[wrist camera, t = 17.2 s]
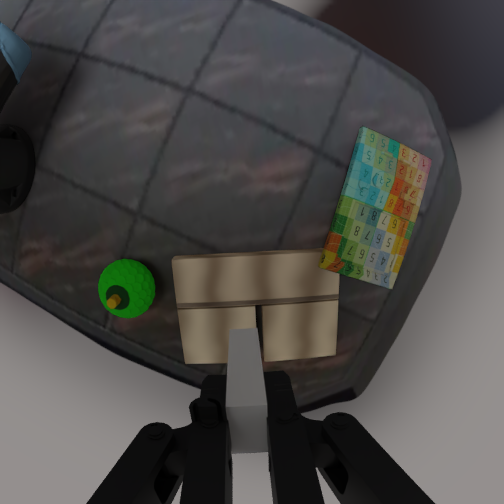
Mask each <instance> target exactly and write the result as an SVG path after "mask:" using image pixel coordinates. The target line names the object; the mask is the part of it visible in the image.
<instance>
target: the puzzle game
mask: <svg viewBox="0 0 504 504" xmlns="http://www.w3.org/2000/svg"><path fill="white" fill-rule="evenodd" d="M430 166H431V159H430V158H428V157H426V156H424V155H423V154H421V153H419V152H417V151H415V150H413V149H411V148H409V147H407V146H405V145H403V144H401V143H399V142H397V141H395V140H393V139H391V138H389V137H387V136H384V135H382V134H380V133H378V132H376V131H374V130H371V129H369V128H367V127H365V126H362V127H360V129H359V133H358V137H357V140H356V144H355V148H354V151H353V155H352V158H351V162H350V165H349V169H348V172H347V176H346V179H345V182H344V186H343V189H342V192H341V196H340V199H339V202H338V205H337V209H336V212H335V215H334V218H333V221H332V224H331V227H330V230H329V233H328V237H327V240H326V243H325V246H324V249H323V252H322V254H321V257H320V260H319V264H318V267H319V268H321V269H325V270H328V271H331V272H335V273H338V274H341V275H345V276H348V277H351V278H355V279H358V280H361V281H365V282H368V283H371V284H375V285H378V286H381V287H385V288H388V289H391V290H392V288H393V285H394V283H395V280H396V277H397V274H398V272H399V269H400V266H401V263H402V260H403V257H404V255H405V252H406V249H407V246H408V243H409V240H410V237H411V234H412V230H413V227H414V224H415V221H416V217H417V214H418V211H419V207H420V204H421V200H422V197H423V193H424V189H425V186H426V182H427V178H428V174H429V170H430Z"/></svg>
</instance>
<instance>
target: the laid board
mask: <svg viewBox="0 0 504 504" xmlns="http://www.w3.org/2000/svg"><path fill="white" fill-rule="evenodd" d="M323 249H324V248H315V249H296V250H277V251H258V252H240V253H221V254H202V255H183V256H174V258H173V259H172V269H173V278H174V287H175V295H176V303H177V308H195V307H220V306H241V305H259V304H275V303H290V302H303V301H316V300H328V299H338V298H339V274H338V273H335V272H331V271H328V270H325V269H321V268H319V267H318V264H319V260H320V257H321V254H322V252H323Z"/></svg>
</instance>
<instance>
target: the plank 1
mask: <svg viewBox="0 0 504 504" xmlns="http://www.w3.org/2000/svg"><path fill="white" fill-rule="evenodd" d="M178 317H179V325H180V332H181V339H182V345H183V352H184V358H185V364H206V363H228V349H229V331H230V329H248V328H256V313H255V305H241V306H220V307H195V308H178Z"/></svg>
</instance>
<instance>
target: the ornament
mask: <svg viewBox="0 0 504 504" xmlns="http://www.w3.org/2000/svg"><path fill="white" fill-rule="evenodd" d="M98 292H99V296H100V300H101V302H102V303H103V305H104V307H105V308H106V309H107V310H109V311H110V312H111V313H112V314H113V315H116V316H118V317H122V318H131V317H132V318H134V317H137V316H138V315H141V314H143V313H144V312H145V311H147V310H148V309H149V306H150V305H151V304H152V302H153V299H154V297H155V285H154V278H153V277H152V274H151V272H150V271H149V270H148V269H147V267H146V266H144V265H143V264H142V263H140V262H138V261H134V260H132V259H121V260H116V261H115V262H113V263H112V264H109V265H108V266H107V268H105V269H104V271H103V273H102V274H101V276H100V280H99V282H98Z"/></svg>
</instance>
